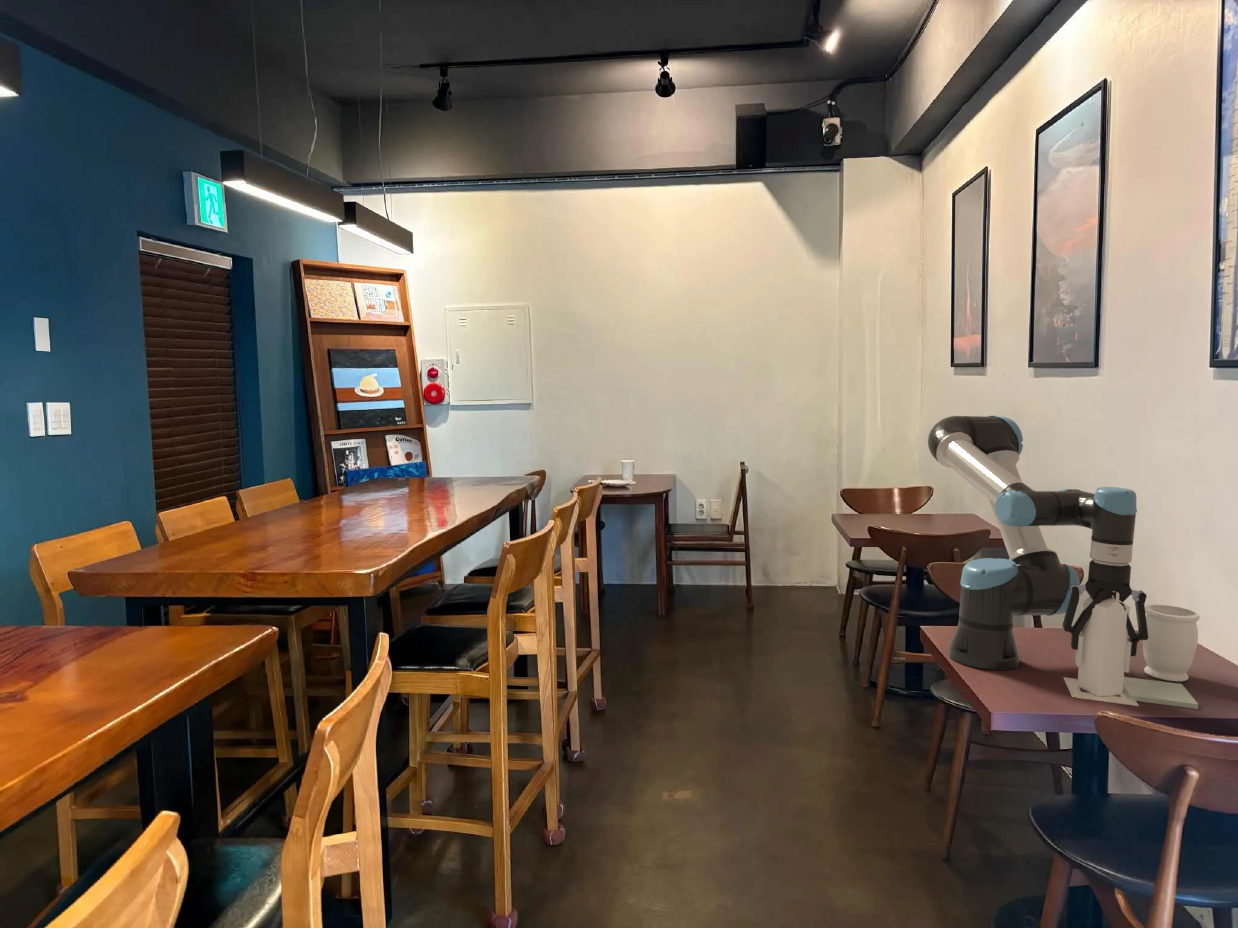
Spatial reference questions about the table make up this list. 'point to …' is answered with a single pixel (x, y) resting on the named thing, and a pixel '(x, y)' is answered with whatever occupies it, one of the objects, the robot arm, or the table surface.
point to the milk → (1104, 648)
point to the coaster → (1158, 692)
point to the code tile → (1084, 694)
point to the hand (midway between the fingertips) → (1101, 667)
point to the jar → (1170, 641)
